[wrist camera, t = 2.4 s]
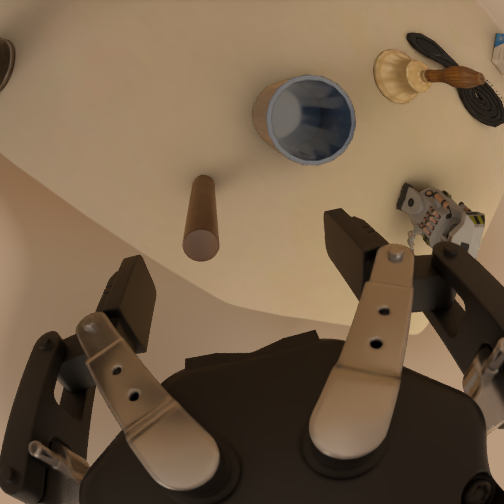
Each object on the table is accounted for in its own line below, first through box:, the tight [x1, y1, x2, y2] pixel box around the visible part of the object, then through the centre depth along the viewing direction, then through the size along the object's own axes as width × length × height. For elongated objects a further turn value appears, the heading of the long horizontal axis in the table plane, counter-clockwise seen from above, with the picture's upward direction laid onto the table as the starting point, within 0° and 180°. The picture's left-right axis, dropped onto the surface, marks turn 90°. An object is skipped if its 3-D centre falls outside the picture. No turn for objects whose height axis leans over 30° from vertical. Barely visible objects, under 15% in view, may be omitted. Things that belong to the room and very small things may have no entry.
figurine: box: [397, 183, 485, 259], centre depth 35 cm, size 9×12×15 cm
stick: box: [183, 175, 219, 261], centre depth 28 cm, size 3×3×16 cm
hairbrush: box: [407, 33, 504, 127], centre depth 29 cm, size 8×4×25 cm
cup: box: [253, 75, 356, 165], centre depth 28 cm, size 9×9×9 cm
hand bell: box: [374, 49, 485, 104], centre depth 23 cm, size 8×8×16 cm
